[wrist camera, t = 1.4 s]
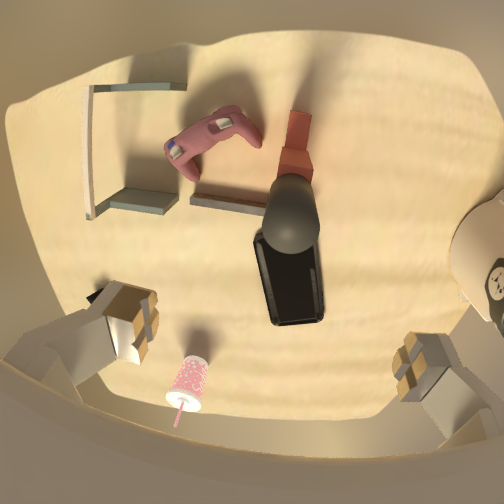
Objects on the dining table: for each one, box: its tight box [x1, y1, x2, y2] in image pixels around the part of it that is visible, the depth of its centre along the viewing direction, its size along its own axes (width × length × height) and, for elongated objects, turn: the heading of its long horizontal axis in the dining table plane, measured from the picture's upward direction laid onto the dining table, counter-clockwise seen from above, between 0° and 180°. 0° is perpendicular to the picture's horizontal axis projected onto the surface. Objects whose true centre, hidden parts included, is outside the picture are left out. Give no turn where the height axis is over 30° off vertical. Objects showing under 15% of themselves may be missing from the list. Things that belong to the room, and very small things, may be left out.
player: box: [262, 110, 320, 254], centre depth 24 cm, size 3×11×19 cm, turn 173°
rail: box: [190, 193, 267, 216], centre depth 34 cm, size 14×1×3 cm, turn 83°
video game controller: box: [164, 105, 262, 182], centre depth 30 cm, size 10×5×7 cm, turn 119°
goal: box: [82, 83, 187, 221], centre depth 29 cm, size 8×15×9 cm, turn 173°
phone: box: [253, 232, 324, 326], centre depth 40 cm, size 8×1×15 cm
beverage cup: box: [166, 356, 208, 427], centre depth 45 cm, size 6×6×14 cm
